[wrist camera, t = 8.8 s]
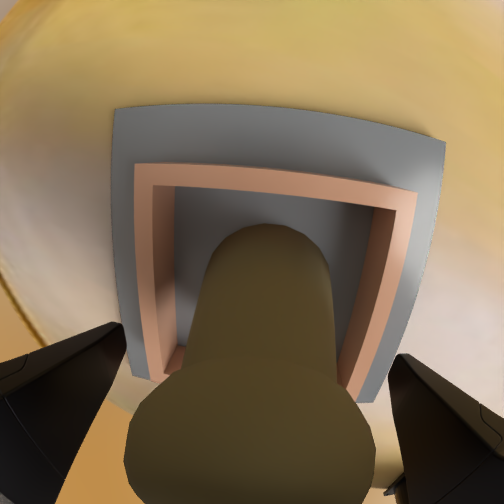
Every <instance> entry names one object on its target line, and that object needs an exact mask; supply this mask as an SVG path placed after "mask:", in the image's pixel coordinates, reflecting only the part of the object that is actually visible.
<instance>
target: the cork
mask: <svg viewBox="0 0 504 504" xmlns="http://www.w3.org/2000/svg"><path fill="white" fill-rule="evenodd" d="M375 454H376V447H375V444H374V440H373V436H372V433H371V429H370V426H369V425H368V423H367V421H366V419H365V418H364V416H363V414H362V412H361V411H360V409H359V407H358V406H357V404H356V403H355V401H354V400H353V398H352V397H351V395H350V394H349V392H348V391H347V390H346V389H345V388H343V387H342V386H340V385H339V384H337V368H336V344H335V326H334V312H333V299H332V287H331V279H330V271H329V265H328V263H327V261H326V259H325V257H324V255H323V254H322V252H321V250H320V248H319V247H318V246H317V245H316V244H315V243H314V242H313V241H311V240H310V239H309V238H308V237H307V236H306V235H305V234H303V233H301V232H299V231H296V230H294V229H292V228H290V227H287V226H285V225H276V224H266V223H263V224H258V225H253V226H248V227H243V228H241V229H240V230H238V231H236V232H234V233H233V234H231V235H229V236H228V237H226V238H225V239H224V240H223V241H222V242H221V243H220V245H219V246H218V247H217V248H216V249H215V250H214V251H213V253H212V255H211V258H210V260H209V263H208V266H207V268H206V271H205V275H204V278H203V282H202V286H201V290H200V293H199V297H198V301H197V305H196V309H195V313H194V316H193V320H192V324H191V328H190V332H189V336H188V340H187V345H186V349H185V353H184V357H183V361H182V365H181V369H180V370H177V371H174V372H173V373H172V374H171V375H170V376H169V377H167V378H166V379H165V380H164V381H163V382H162V383H161V384H160V385H159V386H158V387H157V388H155V389H154V390H153V391H152V392H151V393H150V394H149V395H148V396H147V397H146V398H145V399H144V400H143V401H142V402H141V403H140V405H139V407H138V408H137V410H136V412H135V414H134V416H133V418H132V419H131V421H130V424H129V429H128V434H127V440H126V447H125V454H124V466H125V469H126V474H127V478H128V482H129V484H130V486H131V487H132V489H133V490H134V492H135V493H136V495H137V496H138V497H139V498H140V499H141V500H142V501H143V502H144V503H145V504H362V502H363V501H364V499H365V497H366V495H367V493H368V491H369V489H370V487H371V483H372V479H373V475H374V466H375Z"/></svg>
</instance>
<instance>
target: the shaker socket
mask: <svg viewBox="0 0 504 504" xmlns="http://www.w3.org/2000/svg"><path fill="white" fill-rule="evenodd" d="M445 148H446V142H444V141H441V140H438V139H435V138H432V137H428V136H425V135H422V134H418V133H415V132H411V131H408V130H404V129H400V128H396V127H392V126H388V125H384V124H380V123H376V122H371V121H366V120H362V119H357V118H351V117H346V116H341V115H335V114H329V113H322V112H315V111H308V110H300V109H291V108H282V107H271V106H257V105H239V104H171V105H153V106H140V107H130V108H120V109H115V115H114V126H113V140H112V160H111V218H112V239H113V253H114V265H115V275H116V284H117V292H118V300H119V307H120V314H121V320H122V325H123V326H124V331H125V336H126V342H127V353H128V358H129V363H130V367H131V372H132V375H133V376H136V377H140V378H144V379H148V380H151V381H153V382H157V383H162V382H163V381H164V380H165V379H166V378H167V377H169V376H170V375H171V374H172V373H173V372H174V371H177V370H180V369H181V365H182V361H183V357H184V353H185V349H186V345H187V340H188V336H189V332H190V328H191V324H192V320H193V316H194V313H195V309H196V305H197V301H198V297H199V293H200V290H201V286H202V282H203V278H204V275H205V271H206V268H207V266H208V263H209V260H210V258H211V255H212V253H213V251H214V250H215V249H216V248H217V247H218V246H219V245H220V243H221V242H222V241H223V240H224V239H225V238H226V237H228V236H229V235H231V234H233V233H234V232H236V231H238V230H240V229H241V228H243V227H248V226H253V225H258V224H263V223H266V224H276V225H285V226H287V227H290V228H292V229H294V230H296V231H299V232H301V233H303V234H305V235H306V236H307V237H308V238H309V239H310V240H311V241H313V242H314V243H315V244H316V245H317V246H318V247H319V248H320V250H321V252H322V254H323V255H324V257H325V259H326V261H327V263H328V265H329V271H330V279H331V287H332V299H333V312H334V326H335V344H336V368H337V384H339V385H340V386H342V387H343V388H345V389H346V390H347V391H348V392H349V394H350V395H351V397H352V398H353V400H354V401H355V403H371V402H374V400H375V398H376V396H377V394H378V392H379V390H380V388H381V386H382V383H383V381H384V379H385V377H386V375H387V373H388V370H389V368H390V366H391V364H392V361H393V359H394V357H395V354H396V352H397V349H398V347H399V344H400V342H401V339H402V337H403V334H404V331H405V329H406V326H407V323H408V320H409V318H410V315H411V312H412V309H413V306H414V303H415V300H416V297H417V293H418V290H419V287H420V283H421V280H422V276H423V273H424V269H425V266H426V262H427V258H428V254H429V250H430V245H431V241H432V236H433V232H434V227H435V222H436V217H437V211H438V205H439V199H440V193H441V186H442V178H443V170H444V160H445Z"/></svg>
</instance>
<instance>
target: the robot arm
mask: <svg viewBox="0 0 504 504" xmlns="http://www.w3.org/2000/svg"><path fill="white" fill-rule="evenodd" d="M126 349H127V342H126V336H125V331H124V326H123V325H122V324H120V323H116V322H109V323H107V324H104V325H101V326H99V327H96V328H94V329H91V330H88V331H86V332H83V333H81V334H78V335H76V336H73V337H70V338H68V339H65V340H62V341H60V342H57V343H55V344H52V345H49V346H47V347H44V348H41V349H39V350H36V351H33V352H31V353H29V354H25V355H23V356H20V357H17V358H14V359H11V360H8V361H5V362H2V363H0V504H55V502H56V500H57V498H58V495H59V493H60V490H61V488H62V486H63V483H64V481H65V479H66V477H67V474H68V472H69V470H70V468H71V465H72V463H73V461H74V459H75V457H76V455H77V453H78V450H79V449H80V446H81V444H82V442H83V440H84V438H85V436H86V434H87V432H88V430H89V428H90V426H91V424H92V422H93V420H94V418H95V416H96V414H97V412H98V411H99V409H100V406H101V405H102V403H103V401H104V399H105V397H106V395H107V393H108V392H109V390H110V388H111V386H112V384H113V381H114V379H115V376H116V374H117V371H118V369H119V366H120V364H121V361H122V359H123V357H124V354H125V352H126ZM388 384H389V390H390V398H391V405H392V413H393V418H394V423H395V427H396V432H397V436H398V441H399V446H400V451H401V456H402V461H403V466H404V472H405V473H404V474H403V475H402V476H401V477H400V478H399V479H398V480H397V481H395V482H394V483H393V484H392V485H391V486H390V487H389V488H388V489H387V490H386V491H385V492H384V493H383V494H384V496H388V495H393V494H395V499H396V503H397V504H504V418H502V417H500V416H499V415H497V414H496V413H494V412H493V411H491V410H490V409H488V408H487V407H485V406H484V405H482V404H481V403H480V404H479V402H478V401H476V400H475V399H474V398H472V397H471V396H469V395H468V394H466V393H465V392H463V391H462V390H461V389H459V388H458V387H456V386H455V385H453V384H452V383H450V382H449V381H448V380H446V379H445V378H443V377H442V376H440V375H439V374H437V373H436V372H434V371H433V370H432V369H430V368H429V367H427V366H426V365H424V364H423V363H421V362H420V361H419V360H417V359H416V358H414V357H413V356H411V355H410V354H398V355H397V356H396V357H395V359H394V361H393V364H392V366H391V368H390V371H389V373H388Z"/></svg>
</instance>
